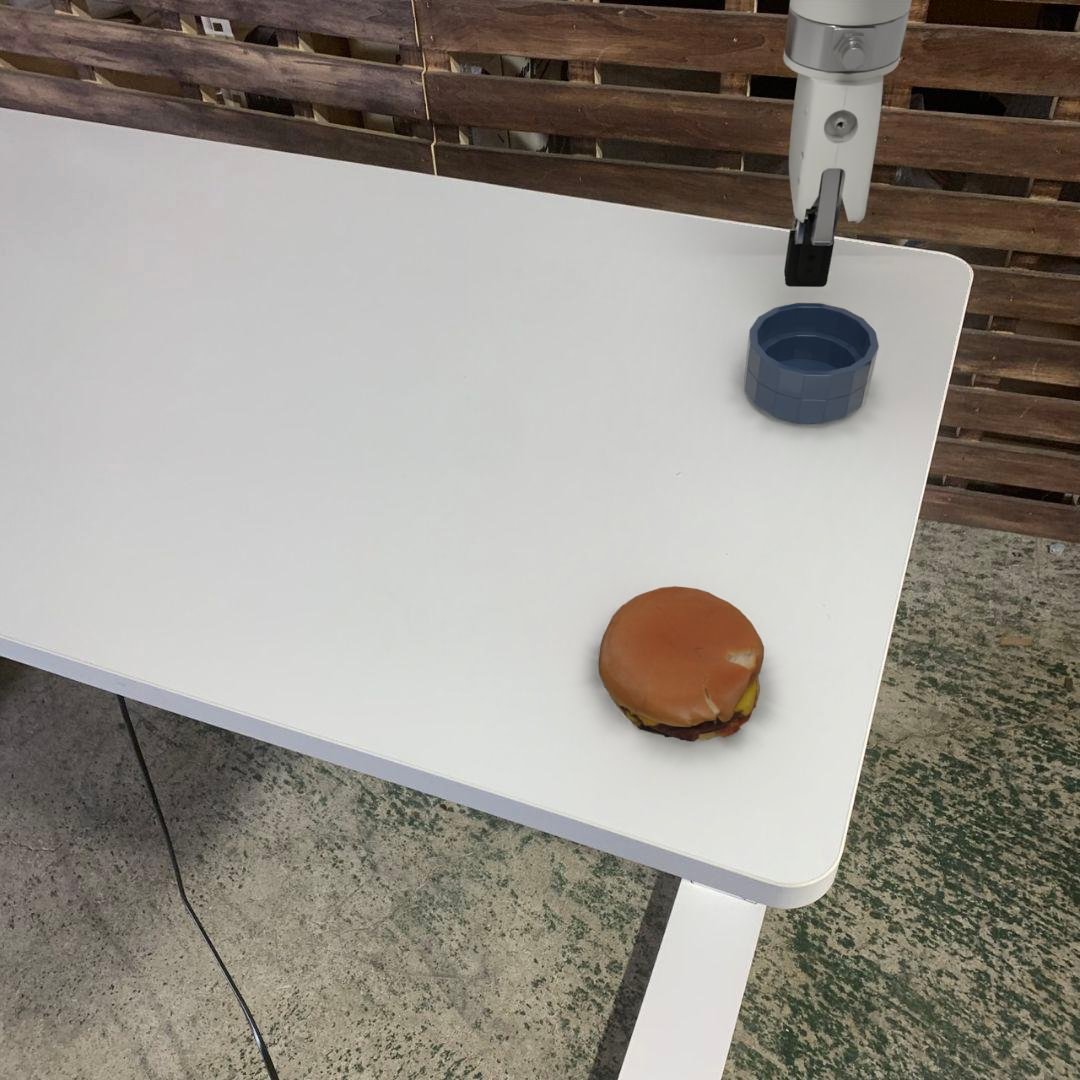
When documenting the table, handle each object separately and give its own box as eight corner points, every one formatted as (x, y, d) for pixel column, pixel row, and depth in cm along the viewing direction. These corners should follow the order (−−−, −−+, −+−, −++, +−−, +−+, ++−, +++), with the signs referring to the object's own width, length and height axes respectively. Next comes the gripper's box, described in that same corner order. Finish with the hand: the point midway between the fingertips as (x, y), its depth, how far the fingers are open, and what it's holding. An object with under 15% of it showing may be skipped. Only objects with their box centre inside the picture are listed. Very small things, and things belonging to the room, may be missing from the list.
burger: (602, 615, 61) (602, 566, 58) (753, 620, 60) (761, 570, 57) (595, 753, 55) (594, 706, 51) (764, 761, 54) (774, 714, 50)
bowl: (858, 357, 78) (870, 303, 74) (872, 431, 72) (885, 376, 68) (742, 355, 79) (748, 301, 75) (745, 428, 73) (751, 373, 69)
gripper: (920, 82, 58) (863, 337, 72) (889, -5, 68) (844, 233, 82) (792, 83, 59) (759, 335, 73) (780, -3, 69) (753, 232, 83)
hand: (804, 280), depth 77 cm, fingers closed
